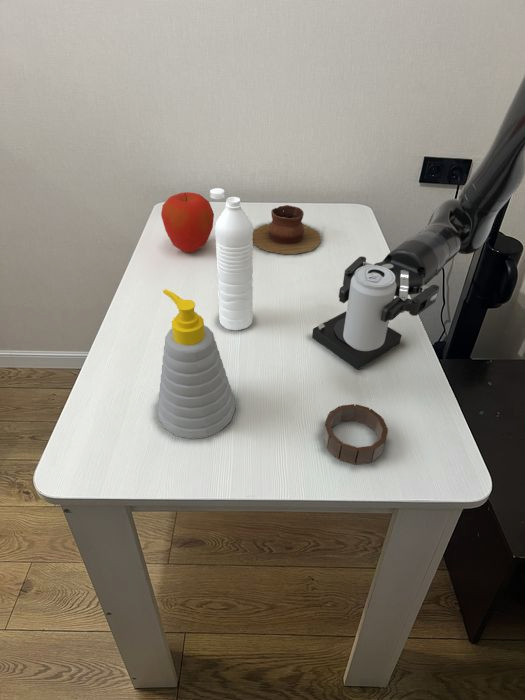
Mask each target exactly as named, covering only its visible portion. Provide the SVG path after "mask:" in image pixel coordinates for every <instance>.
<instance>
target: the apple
mask: <svg viewBox="0 0 525 700" xmlns="http://www.w3.org/2000/svg"><path fill="white" fill-rule="evenodd" d="M160 216H161V220H162V223H163V227H164V230H165V232H166V235H167V236H168V238H169V240H170V242H171V244H172V246H173V247H175V248H176V249H178V250H180V251H181V252H182V253H185V254H189V253H195V252H197V251H198V250H200V249H201V248H202V247H204V246H205V245H206V244H207V243H208V241H209V239H210V236H211V233H212V232H213V231H212V230H213V228H214V219H215V214H214V211H213V208H212V206H211V203H210V201H209V200H207V198H205V197H204V196H203V195H201V194H199V193H196V192H189V191H185V192H180V193H176V194H173V195H171V196H169V197H168V198H167V199H166V200H165V202H164V203H163V204H162V207H161V212H160Z"/></svg>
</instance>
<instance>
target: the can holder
mask: <svg viewBox="0 0 525 700" xmlns="http://www.w3.org/2000/svg"><path fill="white" fill-rule="evenodd" d="M352 421H353V422H355V423H359V424H364V425H366V426H367V427H368V428H369V429H370V430H372V431H373V432H374V433H375V436H376V438H377V441H376V442H374V443H373V444H372V445H367V446H354V445H351V444H347V443H345V442H343V441H342V440H340V439H339V438H338V437H337V436H336V435H335V434H334V432H333V429H332V428H334V427H335V426H337V425H338V424H340V423H344V422H345V423H346V422H352ZM388 429H389V428H388V426H387V424H386V422H385V420H384V417H382V416H381V415H380V414H379V413H378V412H376V411H375V410H373V409H372V408H370V407H367V406H364V405H360V404H357V403H356V404H354V403H351V404H342V405H339V406H337V407H336V408H334V409H332V410H331V411H329V413H328V414H327V417H326V419H325V422H324V428H323V433H322V438H323V442H324V445H325V447H326V450H327V451H328V452H329V453H331V455H333V456H334V457H335V458H336V459H337V460H339V461H340V462H344V463H347V464H351V465H366V464H371V463H373V462H374V461H376V460H377V459H378V458H379V457H381V456H382V454H383V452H384V449H385V445H386V441H387V437H388V433H389V430H388Z"/></svg>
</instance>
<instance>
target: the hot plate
mask: <svg viewBox="0 0 525 700" xmlns="http://www.w3.org/2000/svg"><path fill="white" fill-rule="evenodd" d="M346 312H347V310H346V311H344V312H341V313H340V314H338V315H336V316H334V317H332V318H331V319H328V320H327V321H325V322H323V323H320V324H318V325H317V326H315V327H313V328H312V333H311V338H312V339H313V340H314V341H316V342H317V343H318V344H320V345H322V346H323V347H324V348H326V349H327V350H329V351H330V352H331V353H332V354H334V355H336V356H337V357H338V358H340V359H341V360H343V361H344V362H346V363H347V364H348V365H350V366H351V367H353V368H354V369H355V370H360V369H362V368H363V367H365V366H367V365H368V364H370V363H372V362H373V361H374V360H376V359H378V358H380V357H381V356H383V355H385V354H386V353H388V352H389V351H391V350H393V349H395V348H396V347H398V346H399V345H400V344H401V340H402V336H403V335H402V334H401V333H399V332H398V331H396V330H394V329H393V328H391V327H390V326H388V328H387V332H386V337H385V341H384V343H383V345H382V346H381V347H379V348H377V349H374V350H370V351H360V350H357V349H354V348H353V347H351V346H350V345H349V344H348V343H347V342H346V341H345V340H344V337H343V333H344V326H345V319H346Z"/></svg>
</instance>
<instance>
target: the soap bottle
mask: <svg viewBox="0 0 525 700" xmlns="http://www.w3.org/2000/svg"><path fill="white" fill-rule="evenodd" d="M162 293H163V294H164V295H166V296H167V297H169V299H171V301H173V303H174V304H175V305H176V308H177V309H178V313H177V314H176V316H175V317H173V319H172V320H171V328H170V329H169V330H168V332H167V333H166V335H165V337H164V346H163V355H162V365H161V374H160V383H159V392H158V400H157V418H158V420H159V421H160V424H161V425H162V427H163V428H164V429H165V430H166V431H169V432H170V433H171V434H173V435H174V436H175V437H181V438H184V439H185V438H187V439H190V440H192V439H200V438H201V439H202V438H208V437H210V436H212V435H214V434H217V433H219V432H221V431H222V430H223V429H225V427H227V426H228V424H230V423H231V422H232V420H233V417H234V414H235V411H236V409H237V408H236V401H235V396H234V392H233V390H232V387H231V384H230V382H229V381H230V380H229V377H228V376H227V372H226V368H225V366H224V362H223V359H222V358H221V353H220V350H219V348H218V345H217V341H216V340H215V336H214V333H213V331H212V330H211V329H210V328H209V327H208V326H206V325H205V319H204V318H203V317H202V315H200V314H198V313H197V312H196V311H195V307H196V303H195V302H194V300H192V299H183V298H182V297H180V296H179V295H177V294H176V293H175V292H173V291H171V290H169V289H167V288H165V289H163V290H162Z"/></svg>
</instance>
